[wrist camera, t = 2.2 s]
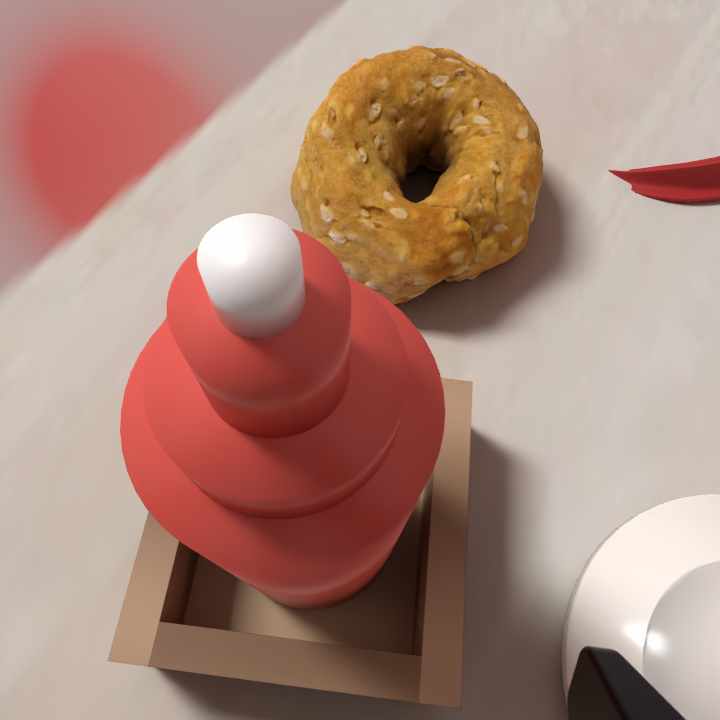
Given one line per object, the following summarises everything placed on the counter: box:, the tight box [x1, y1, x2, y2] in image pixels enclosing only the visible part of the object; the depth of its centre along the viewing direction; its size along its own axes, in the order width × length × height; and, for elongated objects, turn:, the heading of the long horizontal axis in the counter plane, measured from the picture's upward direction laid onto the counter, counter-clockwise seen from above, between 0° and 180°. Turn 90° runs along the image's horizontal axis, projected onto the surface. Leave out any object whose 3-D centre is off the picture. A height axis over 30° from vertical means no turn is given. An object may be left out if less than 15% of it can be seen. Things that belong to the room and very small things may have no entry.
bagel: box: [291, 46, 543, 304], centre depth 23 cm, size 10×11×5 cm
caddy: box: [108, 378, 473, 709], centre depth 17 cm, size 9×9×3 cm
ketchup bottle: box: [120, 214, 445, 610], centre depth 12 cm, size 5×5×14 cm
